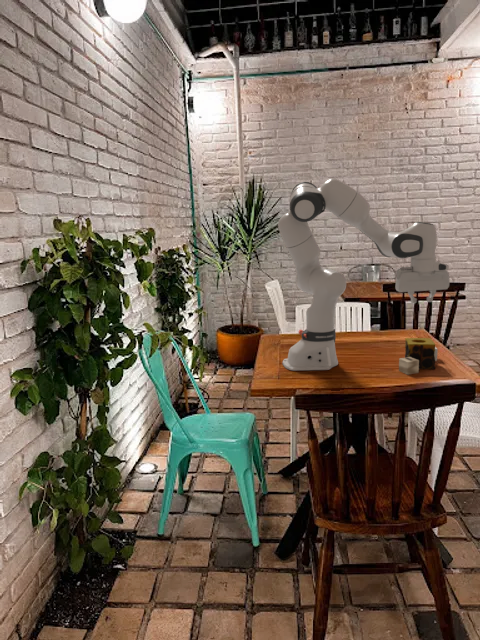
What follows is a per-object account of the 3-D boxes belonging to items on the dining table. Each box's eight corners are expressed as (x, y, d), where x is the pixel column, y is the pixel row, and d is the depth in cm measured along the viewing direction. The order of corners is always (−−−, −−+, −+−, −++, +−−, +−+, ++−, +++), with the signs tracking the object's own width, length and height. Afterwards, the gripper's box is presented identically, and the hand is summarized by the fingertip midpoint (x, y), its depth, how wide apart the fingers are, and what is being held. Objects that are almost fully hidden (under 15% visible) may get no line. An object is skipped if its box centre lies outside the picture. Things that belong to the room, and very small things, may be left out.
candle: (435, 369, 181) (436, 344, 179) (407, 369, 183) (408, 344, 181) (430, 362, 191) (431, 337, 189) (404, 361, 193) (405, 337, 191)
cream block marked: (424, 360, 192) (424, 348, 191) (421, 357, 197) (421, 345, 196) (437, 360, 192) (437, 348, 191) (433, 357, 197) (434, 345, 196)
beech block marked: (407, 374, 177) (407, 361, 176) (398, 371, 181) (399, 357, 180) (418, 373, 178) (419, 359, 177) (409, 369, 183) (410, 356, 182)
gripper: (400, 268, 174) (399, 305, 177) (452, 265, 177) (450, 301, 180) (392, 266, 180) (392, 302, 183) (443, 263, 183) (441, 299, 186)
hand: (421, 302), depth 181 cm, fingers open, 5 cm apart
